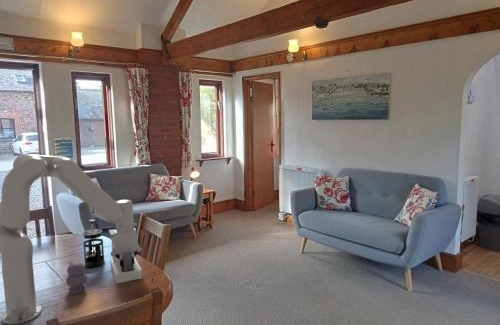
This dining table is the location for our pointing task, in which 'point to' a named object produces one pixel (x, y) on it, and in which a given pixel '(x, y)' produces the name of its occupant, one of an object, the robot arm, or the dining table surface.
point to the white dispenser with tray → (118, 270)
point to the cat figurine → (76, 277)
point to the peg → (127, 262)
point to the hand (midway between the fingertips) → (127, 266)
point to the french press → (93, 256)
